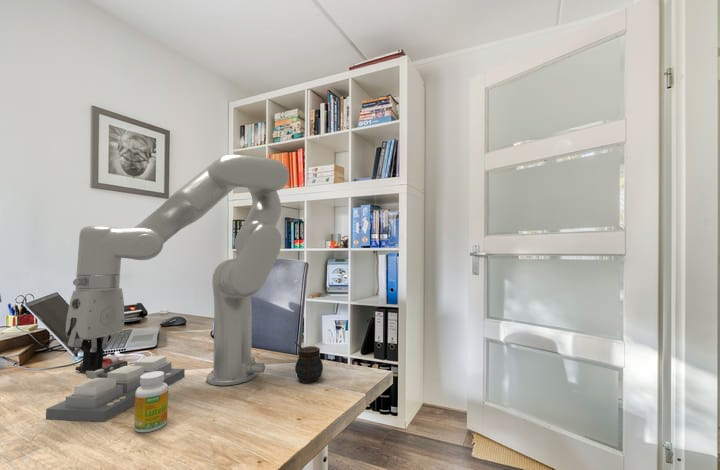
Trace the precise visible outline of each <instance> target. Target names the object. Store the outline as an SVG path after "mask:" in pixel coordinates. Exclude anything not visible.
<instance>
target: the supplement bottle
mask: <svg viewBox="0 0 720 470" xmlns="http://www.w3.org/2000/svg"><path fill="white" fill-rule="evenodd" d="M163 381H164V372H162V371H154V372H148V373H145V374H143V375H141V376H140V385H141V386H140V387H139V388H138V389H137V390H136V393H135V405H134V425H133V426H134V427H133V428H134V430H135V432H137V433H149V432H150V433H151V432H153V431H157V430H160V429H161V428H163V427H164V426H165V425H167V423H168V403H169V402H168V399H169V398H168V397H169V395H168V394H169V385H167V384H166V383H164V382H163Z"/></svg>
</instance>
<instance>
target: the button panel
mask: <svg viewBox="0 0 720 470" xmlns="http://www.w3.org/2000/svg"><path fill="white" fill-rule="evenodd" d="M154 371H162V372H164V381H163V382H164V383H166V384H167V385H168V386H170V385H171V384H174V383H176V382H177V381H179V380H181V379H182V378H184V377H185V372H186V371H185V368H172V362H171V361H170V362H169V361H166V364H165V365H163V366H160V367H158V368H156V369H154V370H144V374H145V373H148V372H154ZM140 386H141V385H140V376H139V377H137V378H135V379H133V380H131V381H128V382H116V388H114V389H111V390H109V391H107V392H105V393H103V394H101V395H99V396H96V397H86V396H74V393H72V394H69V395H67V396H65V399H64V400H63V401H60V402H59V403H56V404H55V405H51V406H49V407H47V408H46V410H45V411H46V412H45V419H46V420H57V421H58V420H59V421H62V420H63V421H75V422H76V421H78V422H79V421H80V422H93V423H94V422H95V423H98V422H99V423H104V422H106V421H109V420H111V419H112V418H115V416H117V415H119V414H121V413H122V412H124V411H126V410H128V409H129V408H131V407H134V406H135V393H136V390H137V389H138V388H139V387H140Z"/></svg>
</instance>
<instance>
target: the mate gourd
mask: <svg viewBox="0 0 720 470" xmlns="http://www.w3.org/2000/svg"><path fill="white" fill-rule="evenodd" d="M293 342H294V344H296V346H297V347H298V358H297V361H296V363H295V368H294V370H295V374H296V378H297V379H298V380H299V381H300V382H302V383H306V384H310V383H315V382H317V381H318V380H319V379H320V378H321V376H322V373H323V370H324V364H323V362H322V359H321V356H320V352H321V349H320V347H318V346H315V345H313V346H311V345H310V346H304V347H301V346H300V344H298V343H297V341H293Z"/></svg>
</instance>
